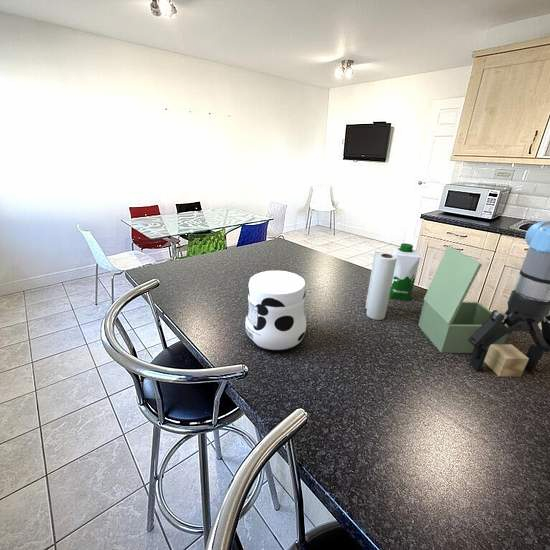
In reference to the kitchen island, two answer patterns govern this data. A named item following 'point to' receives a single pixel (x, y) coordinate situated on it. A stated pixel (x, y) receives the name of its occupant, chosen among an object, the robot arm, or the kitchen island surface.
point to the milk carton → (404, 272)
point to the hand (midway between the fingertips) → (500, 368)
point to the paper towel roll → (380, 284)
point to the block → (506, 360)
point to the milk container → (276, 310)
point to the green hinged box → (455, 327)
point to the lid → (451, 283)
